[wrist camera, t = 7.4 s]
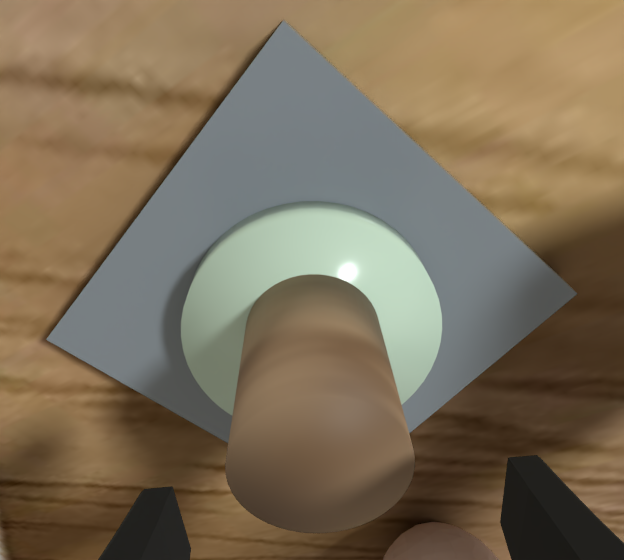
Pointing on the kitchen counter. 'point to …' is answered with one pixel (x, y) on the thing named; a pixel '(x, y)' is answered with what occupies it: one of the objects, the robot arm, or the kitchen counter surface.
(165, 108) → the kitchen counter surface
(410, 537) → the egg
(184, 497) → the kitchen counter surface
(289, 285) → the walnut cylinder
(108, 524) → the kitchen counter surface
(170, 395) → the base
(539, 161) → the kitchen counter surface
